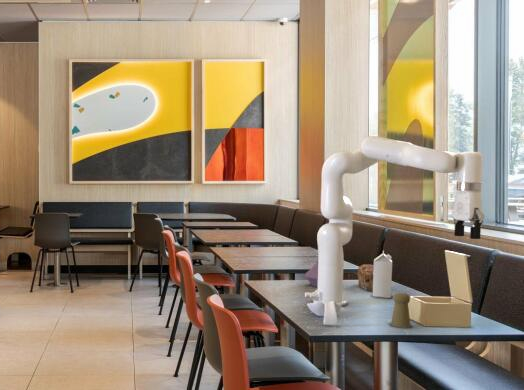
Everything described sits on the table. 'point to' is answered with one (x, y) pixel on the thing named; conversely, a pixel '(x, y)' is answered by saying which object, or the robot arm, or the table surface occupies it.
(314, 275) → the flask
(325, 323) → the spoon rest
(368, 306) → the table surface
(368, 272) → the bread
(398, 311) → the cork
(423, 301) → the chest
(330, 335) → the table surface
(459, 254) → the lid
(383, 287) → the milk carton
